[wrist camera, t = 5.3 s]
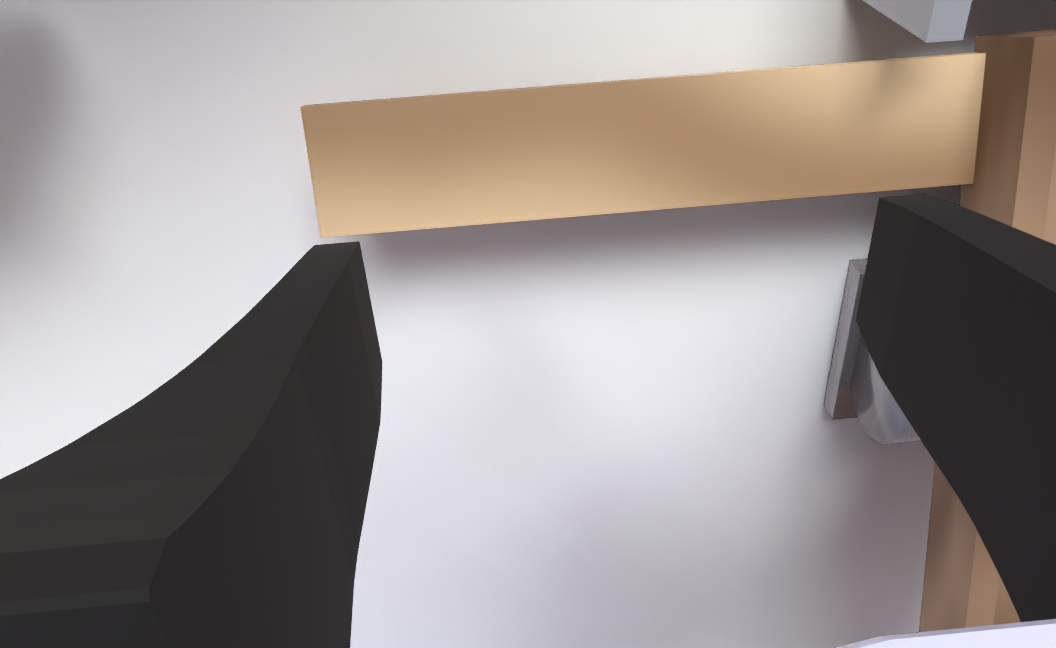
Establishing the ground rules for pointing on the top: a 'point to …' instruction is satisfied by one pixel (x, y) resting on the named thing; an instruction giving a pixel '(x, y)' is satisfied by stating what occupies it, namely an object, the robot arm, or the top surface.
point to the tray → (927, 17)
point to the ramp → (720, 177)
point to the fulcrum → (862, 375)
